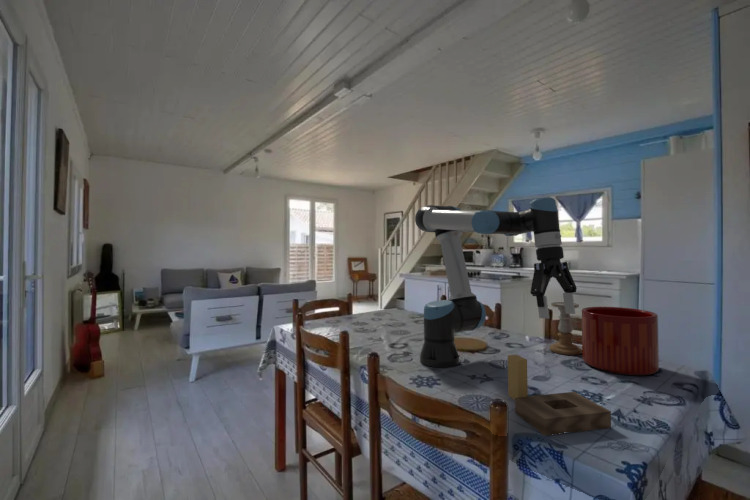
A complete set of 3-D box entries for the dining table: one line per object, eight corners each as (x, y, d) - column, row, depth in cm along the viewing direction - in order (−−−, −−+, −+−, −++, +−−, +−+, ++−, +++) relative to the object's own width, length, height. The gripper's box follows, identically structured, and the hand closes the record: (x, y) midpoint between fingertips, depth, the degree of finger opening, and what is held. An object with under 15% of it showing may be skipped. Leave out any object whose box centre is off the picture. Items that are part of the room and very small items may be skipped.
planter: (587, 353, 144) (586, 304, 144) (659, 364, 129) (658, 310, 129) (577, 368, 126) (576, 312, 126) (659, 382, 112) (657, 320, 112)
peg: (518, 402, 99) (517, 360, 99) (508, 395, 104) (507, 355, 104) (527, 401, 99) (527, 359, 99) (517, 394, 104) (516, 354, 104)
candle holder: (552, 354, 143) (551, 305, 144) (547, 346, 155) (546, 301, 155) (586, 356, 140) (585, 306, 140) (578, 348, 152) (577, 302, 152)
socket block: (544, 436, 81) (544, 418, 81) (515, 412, 93) (514, 397, 93) (611, 427, 84) (610, 411, 84) (574, 406, 96) (573, 391, 96)
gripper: (534, 245, 99) (544, 320, 96) (582, 245, 112) (592, 312, 109) (512, 249, 105) (521, 319, 103) (560, 248, 118) (569, 311, 116)
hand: (557, 316), depth 106 cm, fingers open, 13 cm apart
